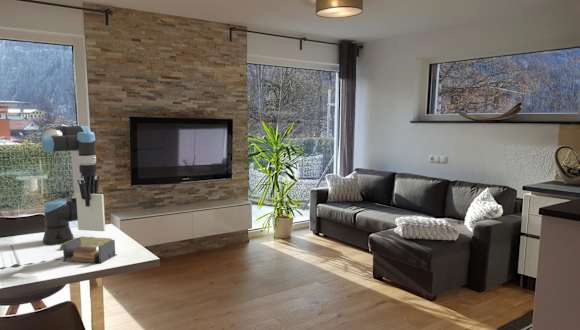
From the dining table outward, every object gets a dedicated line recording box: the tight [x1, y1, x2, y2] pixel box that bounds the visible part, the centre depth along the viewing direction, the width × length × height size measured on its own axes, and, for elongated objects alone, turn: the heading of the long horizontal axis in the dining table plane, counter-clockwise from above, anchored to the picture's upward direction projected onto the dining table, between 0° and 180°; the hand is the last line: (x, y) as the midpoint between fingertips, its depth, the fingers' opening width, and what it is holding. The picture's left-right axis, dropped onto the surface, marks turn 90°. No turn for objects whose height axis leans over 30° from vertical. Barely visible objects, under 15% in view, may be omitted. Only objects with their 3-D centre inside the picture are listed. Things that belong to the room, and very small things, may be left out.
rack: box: [62, 237, 119, 265], centre depth 205 cm, size 14×20×10 cm
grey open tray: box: [59, 236, 113, 251], centre depth 229 cm, size 19×20×4 cm
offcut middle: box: [73, 251, 99, 258], centre depth 202 cm, size 5×11×2 cm, turn 79°
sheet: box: [76, 193, 106, 232], centre depth 205 cm, size 1×14×18 cm, turn 79°
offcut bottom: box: [71, 256, 99, 263], centre depth 203 cm, size 5×12×2 cm, turn 78°
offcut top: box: [73, 246, 97, 254], centre depth 202 cm, size 4×9×2 cm, turn 78°
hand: (90, 212), depth 205 cm, fingers closed on sheet
